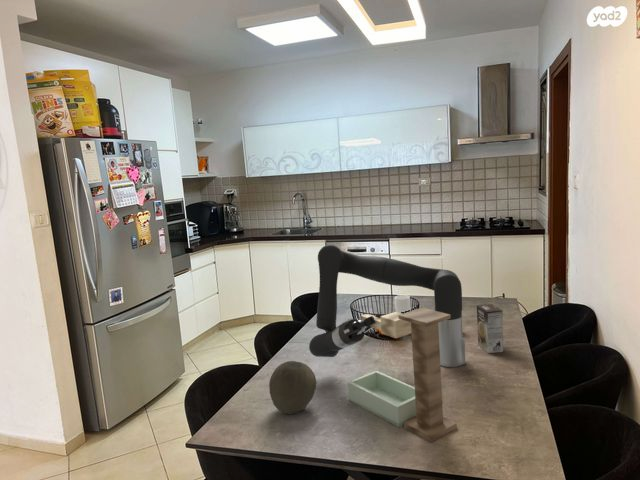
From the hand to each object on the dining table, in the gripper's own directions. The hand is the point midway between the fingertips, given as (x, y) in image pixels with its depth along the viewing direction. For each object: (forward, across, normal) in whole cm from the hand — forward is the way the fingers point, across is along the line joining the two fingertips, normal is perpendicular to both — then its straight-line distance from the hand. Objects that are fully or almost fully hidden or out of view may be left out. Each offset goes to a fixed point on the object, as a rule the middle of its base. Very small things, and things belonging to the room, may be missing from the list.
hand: (377, 318), depth 142 cm
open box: (-12, 0, +25) cm, 27 cm away
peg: (+1, 0, +4) cm, 4 cm away
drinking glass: (-51, +52, +3) cm, 72 cm away
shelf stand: (+3, 0, +33) cm, 33 cm away
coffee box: (-17, +59, +22) cm, 65 cm away
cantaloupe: (-27, -22, +16) cm, 39 cm away
